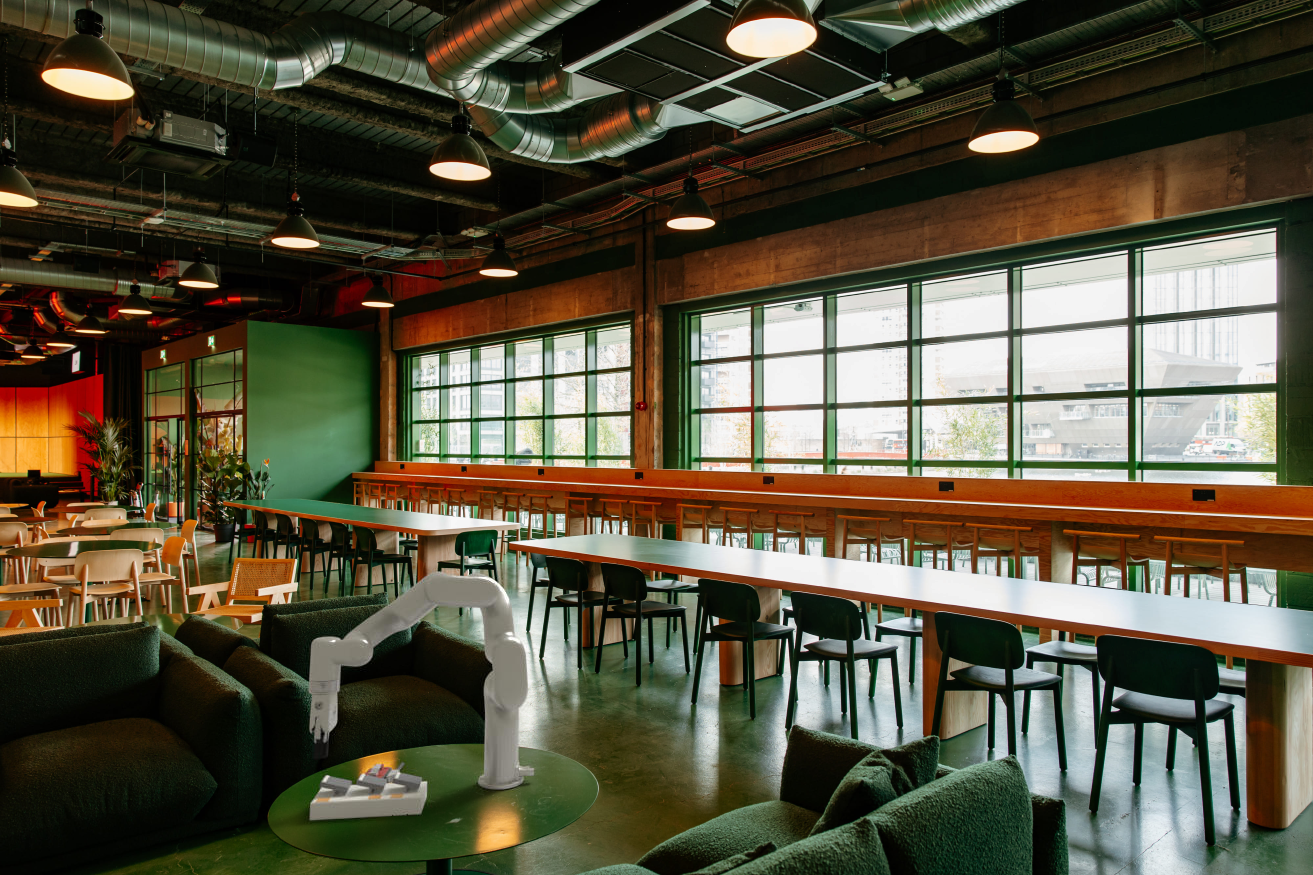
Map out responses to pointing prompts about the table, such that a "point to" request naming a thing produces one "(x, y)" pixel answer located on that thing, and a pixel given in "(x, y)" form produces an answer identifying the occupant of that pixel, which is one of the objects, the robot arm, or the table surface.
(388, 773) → the walkie-talkie
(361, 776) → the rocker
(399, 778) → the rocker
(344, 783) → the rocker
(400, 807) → the switch unit
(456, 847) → the table surface
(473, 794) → the table surface
